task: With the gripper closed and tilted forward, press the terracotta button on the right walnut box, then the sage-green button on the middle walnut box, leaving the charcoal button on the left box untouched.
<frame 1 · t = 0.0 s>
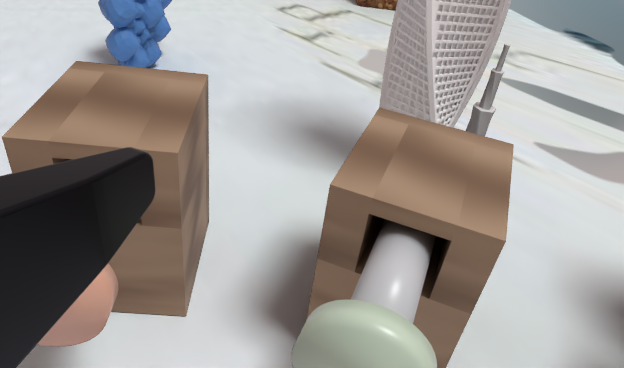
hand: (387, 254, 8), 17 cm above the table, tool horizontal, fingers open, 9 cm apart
button terracotta: (81, 224, 20), point 8 cm above the table, slide at 0.0 cm
skyscraper: (404, 176, 40), on the table
grapes: (137, 67, 51), on the table
bread: (405, 6, 84), on the table
button sage: (388, 292, 19), point 8 cm above the table, slide at 0.0 cm
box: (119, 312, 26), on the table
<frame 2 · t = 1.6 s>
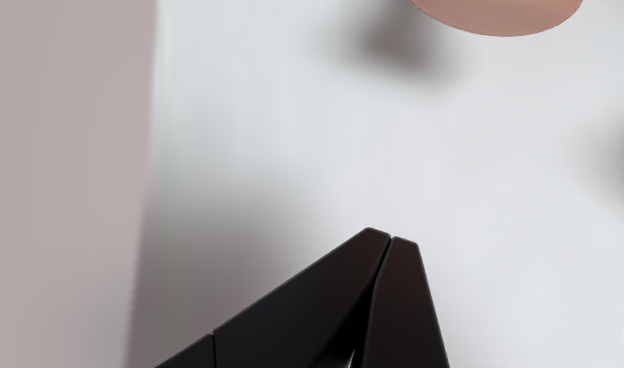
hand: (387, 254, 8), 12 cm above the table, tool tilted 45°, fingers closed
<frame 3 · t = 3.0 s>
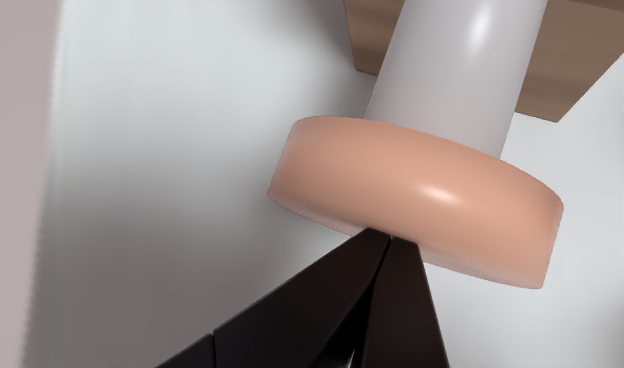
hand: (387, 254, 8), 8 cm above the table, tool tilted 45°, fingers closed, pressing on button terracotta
button terracotta: (466, 26, 9), point 8 cm above the table, slide at 0.0 cm, touching gripper
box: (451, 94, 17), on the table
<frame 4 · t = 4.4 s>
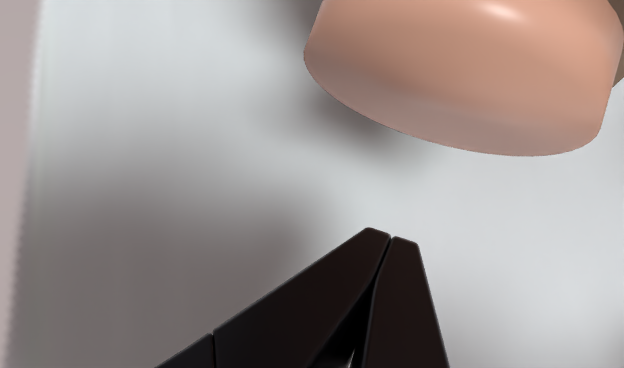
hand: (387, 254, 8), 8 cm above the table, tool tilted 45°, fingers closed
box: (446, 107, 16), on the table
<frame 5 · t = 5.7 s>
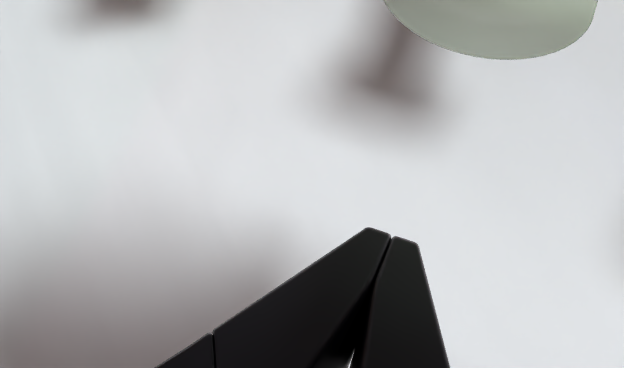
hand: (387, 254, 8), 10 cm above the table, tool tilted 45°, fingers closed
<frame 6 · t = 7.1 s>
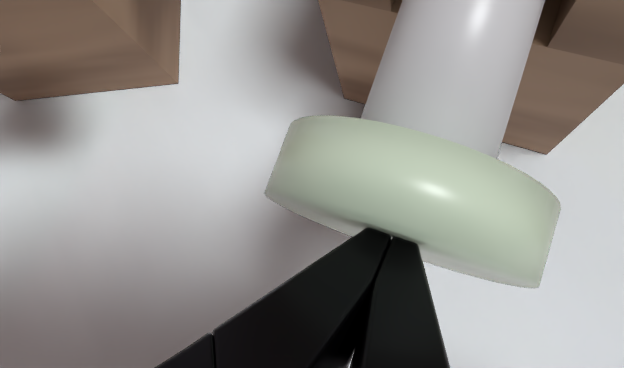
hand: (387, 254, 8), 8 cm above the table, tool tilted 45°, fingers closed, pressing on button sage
button sage: (463, 25, 9), point 8 cm above the table, slide at 1.2 cm, touching gripper
box middle: (440, 125, 17), on the table
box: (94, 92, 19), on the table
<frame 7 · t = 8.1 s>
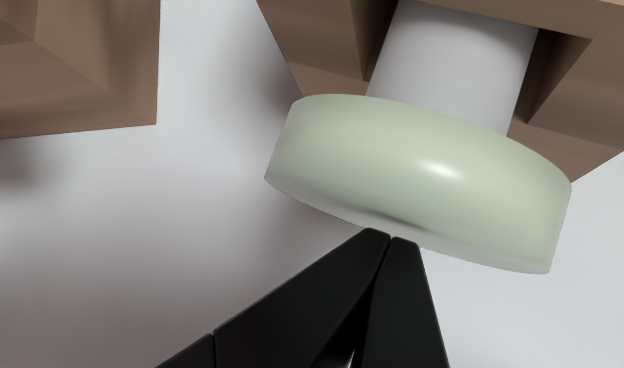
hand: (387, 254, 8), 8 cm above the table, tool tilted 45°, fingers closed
button sage: (470, 4, 9), point 8 cm above the table, slide at 3.3 cm
box middle: (424, 172, 16), on the table
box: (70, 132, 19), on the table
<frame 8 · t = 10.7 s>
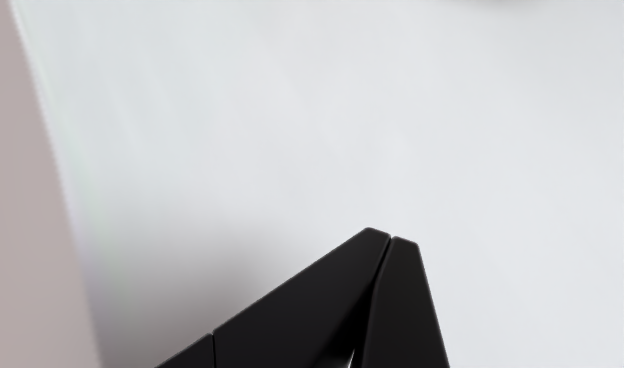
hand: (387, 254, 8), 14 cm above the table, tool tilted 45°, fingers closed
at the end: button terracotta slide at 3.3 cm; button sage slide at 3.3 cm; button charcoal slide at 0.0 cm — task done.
